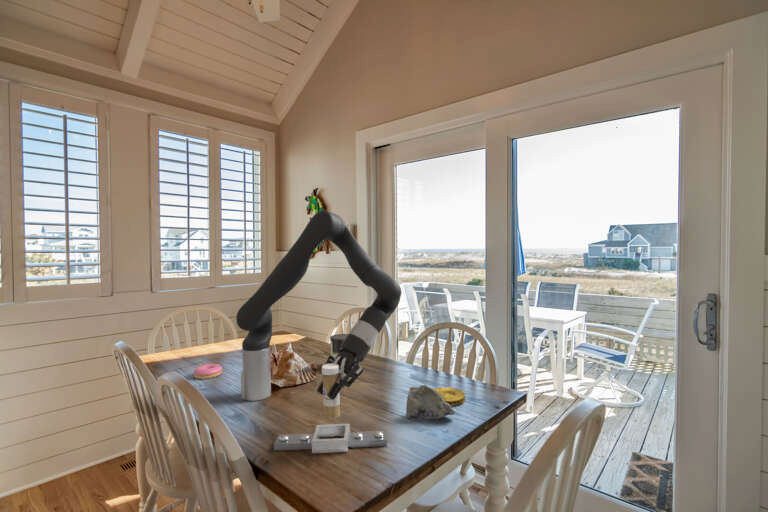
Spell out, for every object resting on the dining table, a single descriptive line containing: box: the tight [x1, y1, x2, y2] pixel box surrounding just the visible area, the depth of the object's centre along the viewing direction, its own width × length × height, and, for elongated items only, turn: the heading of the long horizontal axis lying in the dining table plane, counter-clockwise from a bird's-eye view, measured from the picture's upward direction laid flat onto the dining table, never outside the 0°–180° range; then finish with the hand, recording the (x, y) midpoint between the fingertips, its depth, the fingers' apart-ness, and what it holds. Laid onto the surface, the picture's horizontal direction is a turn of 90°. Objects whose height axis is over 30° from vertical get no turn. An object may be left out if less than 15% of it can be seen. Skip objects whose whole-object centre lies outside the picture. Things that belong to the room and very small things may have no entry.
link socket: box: [311, 423, 351, 454], centre depth 98 cm, size 9×9×3 cm
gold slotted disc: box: [432, 386, 466, 406], centre depth 126 cm, size 12×12×2 cm
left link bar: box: [273, 432, 315, 452], centre depth 98 cm, size 10×5×2 cm, turn 92°
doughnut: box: [193, 363, 223, 380], centre depth 156 cm, size 11×11×4 cm
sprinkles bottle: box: [321, 363, 341, 420], centre depth 98 cm, size 5×5×14 cm
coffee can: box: [329, 333, 349, 357], centre depth 161 cm, size 10×10×14 cm
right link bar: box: [348, 430, 388, 448], centre depth 99 cm, size 10×5×2 cm, turn 92°
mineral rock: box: [405, 384, 456, 420], centre depth 111 cm, size 13×11×10 cm
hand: (324, 395), depth 97 cm, fingers closed on sprinkles bottle, 4 cm apart
